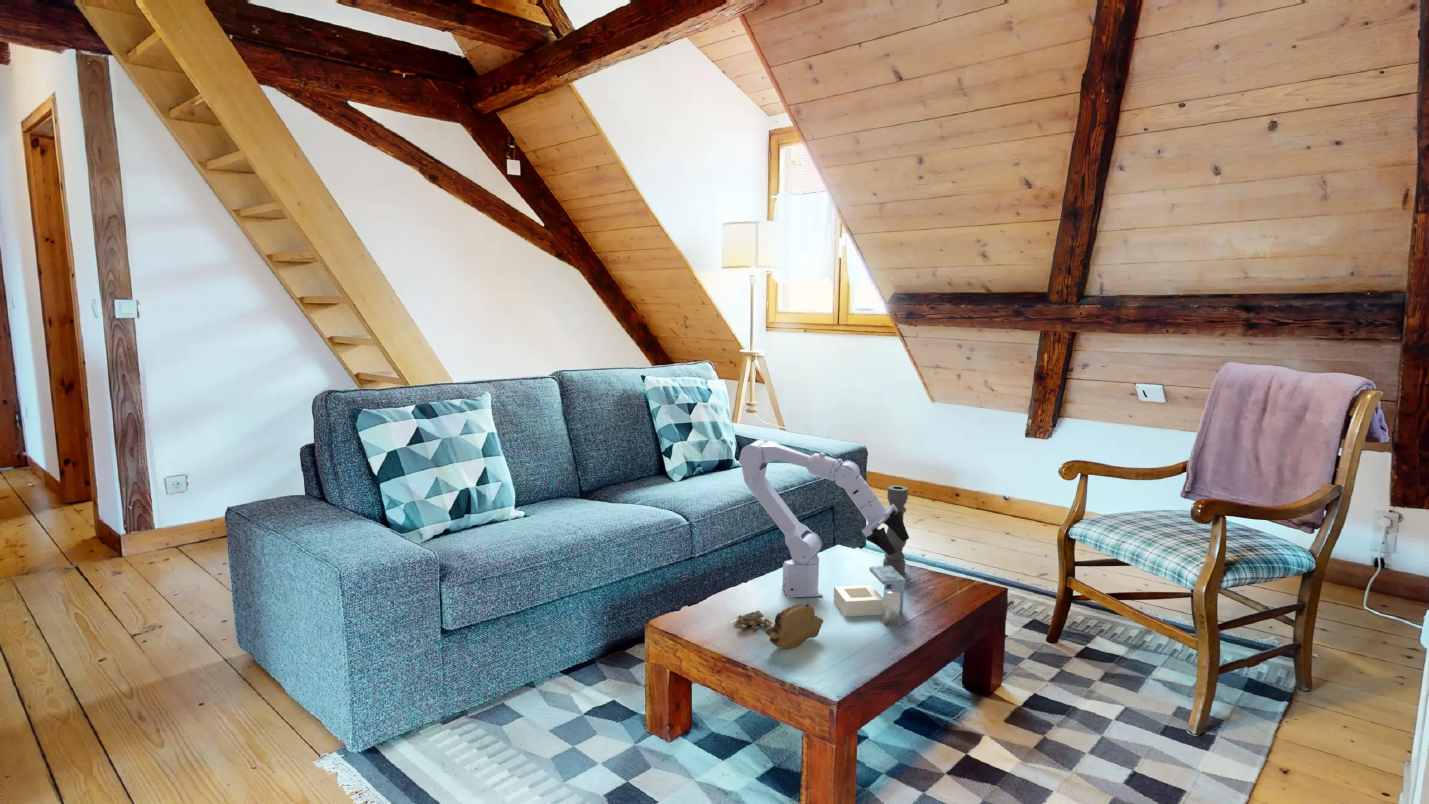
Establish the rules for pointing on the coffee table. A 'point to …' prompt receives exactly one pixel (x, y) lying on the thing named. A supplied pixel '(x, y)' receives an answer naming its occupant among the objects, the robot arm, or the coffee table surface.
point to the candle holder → (896, 560)
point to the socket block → (858, 600)
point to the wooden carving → (794, 626)
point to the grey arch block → (890, 580)
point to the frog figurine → (752, 621)
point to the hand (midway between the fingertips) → (899, 546)
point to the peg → (891, 607)
